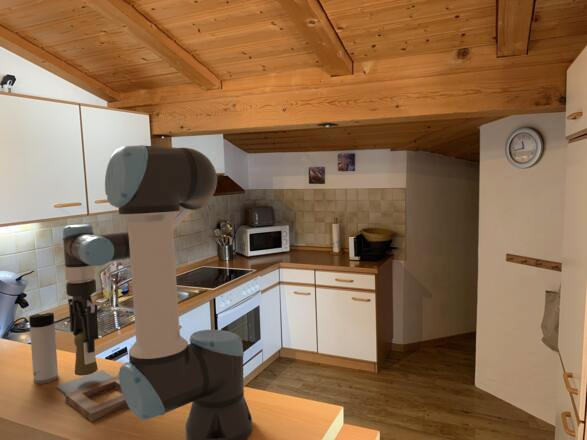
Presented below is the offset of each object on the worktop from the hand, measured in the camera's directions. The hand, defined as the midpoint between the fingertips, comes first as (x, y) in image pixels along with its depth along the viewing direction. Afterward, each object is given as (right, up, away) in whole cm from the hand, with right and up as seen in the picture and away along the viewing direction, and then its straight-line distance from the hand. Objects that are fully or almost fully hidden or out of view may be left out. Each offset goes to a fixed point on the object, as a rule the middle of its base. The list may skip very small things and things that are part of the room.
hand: (85, 359), depth 124 cm
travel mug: (-14, -7, +4) cm, 16 cm away
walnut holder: (+10, -8, -8) cm, 15 cm away
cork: (0, -3, 0) cm, 3 cm away
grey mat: (0, -7, +1) cm, 7 cm away
